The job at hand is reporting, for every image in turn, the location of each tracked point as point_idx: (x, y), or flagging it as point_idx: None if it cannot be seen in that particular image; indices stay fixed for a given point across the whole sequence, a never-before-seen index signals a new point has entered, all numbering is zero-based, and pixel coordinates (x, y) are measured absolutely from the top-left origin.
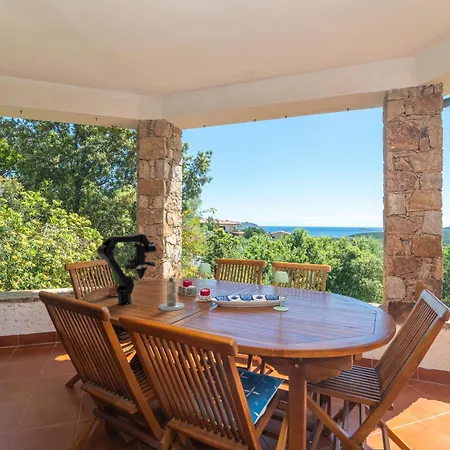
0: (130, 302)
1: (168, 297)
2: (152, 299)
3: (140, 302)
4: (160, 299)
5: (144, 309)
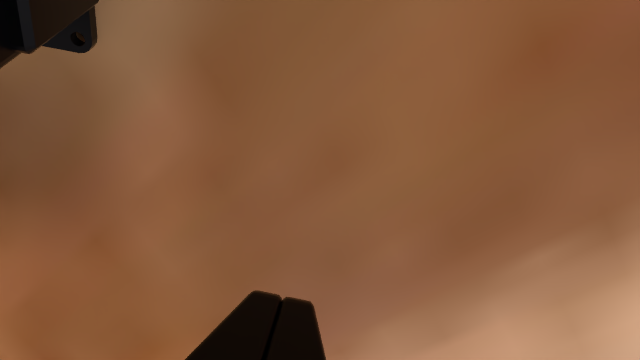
0: (71, 26)
1: None
2: (482, 160)
3: (226, 116)
4: (529, 260)
5: (50, 335)
